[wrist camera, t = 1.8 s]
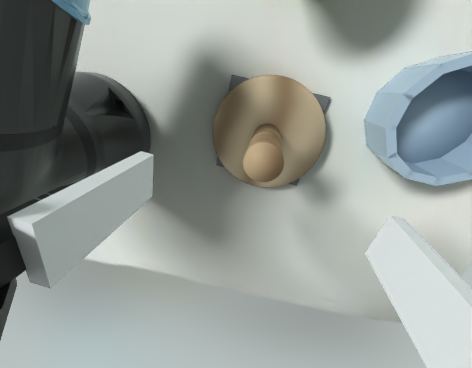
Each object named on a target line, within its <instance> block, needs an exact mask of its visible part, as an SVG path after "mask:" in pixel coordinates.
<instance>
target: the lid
mask: <svg viewBox="0 0 472 368" xmlns="http://www.w3.org/2000/svg"><path fill="white" fill-rule="evenodd" d="M325 133H326V126H325V118H324V114H323V111H322V109H321V106H320V104H319V102H318V101H317V99H316V98H315V96H314V95H313V94H312V93H311V92H310V91H309V90H308V89H307V88H306V87H305V86H303V85H302V84H301V83H299V82H297V81H295V80H293V79H291V78H287V77H284V76H278V75H263V76H258V77H254V78H251V79H249V80H246V81H244V82H242V83H241V84H239V85H238V86H236V87H235V88H234V89H233V90H232V91H230V92H229V94H228V95H227V96H226V97H225V98H224V100H223V101H222V103H221V104H220V106H219V108H218V110H217V113H216V116H215V119H214V124H213V141H214V146H215V150H216V153H217V155H218V157H219V159H220V161H221V162H222V164H223V165H224V166H225V168H226V169H227V170H228V171H229V172H230V173H231V174H232V175H234V176H235V177H236V178H238V179H239V180H241V181H243V182H245V183H247V184H251V185H254V186H259V187H276V186H281V185H285V184H288V183H290V182H293V181H294V180H296V179H298V178H300V177H301V176H302V175H304V174H305V173H306V172H307V171H308V170H309V169H310V168H311V167H312V166H313V164H314V163H315V162H316V160H317V159H318V157H319V155H320V153H321V151H322V148H323V145H324V140H325Z"/></svg>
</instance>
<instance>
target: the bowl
mask: <svg viewBox="0 0 472 368" xmlns="http://www.w3.org/2000/svg"><path fill="white" fill-rule="evenodd" d="M364 123H365V134H366V145H367V146H368V147H369V148H370V149H371V150H372V151H373V153H374V154H375V155H376V156H377V157H378V158H379V159H380V160H381V161H382V162H383V163H384V164H386V165H387V166H388V167H390V168H391V169H393V170H394V171H395V172H397V173H398V174H400V175H401V176H402V177H404V178H405V179H409V180H414V181H418V182H422V183H426V184H430V185H434V186H439V185H445V184H450V183H455V182H461V181H466V180H472V52H466V53H460V54H454V55H448V56H442V57H438V58H435V59H432V60H429V61H426V62H423V63H420V64H417V65H413V66H410V67H407V68H404V69H403V70H402V71H401V72H400V73H399V74H398V75H396V76H395V77H394V78H393V79H392V80H391V81H390V82H388V83H387V84H386V85H385V86H384V87H383V88H381V89H380V90H379V91H378V92H377V94H376V96H375V98H374V100H373V102H372V105H371V107H370V109H369V111H368V113H367V115H366V117H365V120H364Z"/></svg>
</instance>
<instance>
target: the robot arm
mask: <svg viewBox="0 0 472 368" xmlns="http://www.w3.org/2000/svg"><path fill="white" fill-rule="evenodd" d="M89 3H90V0H0V340H1V336H2V332H3V329H4V326H5V323H6V320H7V316H8V313H9V310H10V306H11V303H12V300H13V297H14V293H15V290H16V286H17V280H16V277H17V276H18V275H20V274H21V273H22V272H24V271H25V270H26V272H27V275H28V278H29V281H30V282H31V283H34V284H38V285H41V286H44V287H48V288H52V287H53V286H54V285H55V284H56V283H57V282H58V281H59V280H60V279H62V278H63V277H64V276H65V275H66V274H67V273H68V272H69V271H70V270H72V269H73V268H74V267H75V266H76V265H77V264H78V263H79V262H80V261H81V260H83V259H84V258H85V257H86V256H87V255H88V254H89V253H90V252H91V251H93V250H94V249H95V248H96V247H97V246H98V245H99V244H100V243H101V242H102V241H104V240H105V239H106V238H107V237H108V236H109V235H110V234H111V233H112V232H114V231H115V230H116V229H117V228H118V227H119V226H120V225H121V224H122V223H123V222H125V221H126V220H127V219H128V218H129V217H130V216H131V215H132V214H133V213H135V212H136V211H137V210H138V209H139V208H140V207H141V206H142V205H143V204H144V203H146V202H147V201H148V200H149V199H150V198H151V197H152V196H153V160H154V155H153V154H150V153H149V149H150V131H149V126H148V123H147V120H146V117H145V115H144V113H143V111H142V109H141V107H140V105H139V104H138V102H137V101H136V100H135V98H134V97H133V96H132V95H131V94H130V93H129V91H128V90H126V89H125V88H124V87H123V86H122V85H121V84H119V83H118V82H116V81H115V80H113V79H111V78H109V77H107V76H104V75H101V74H97V73H90V72H75V70H76V65H77V60H78V55H79V50H80V45H81V40H82V36H83V31H84V26H85V24H86V25H89V24H90V20H91V17H90V15H89V12H88V10H89ZM365 255H366V256H367V258H368V260H369V262H370V264H371V266H372V268H373V269H374V271H375V273H376V275H377V277H378V279H379V281H380V282H381V284H382V286H383V288H384V290H385V292H386V294H387V295H388V297H389V299H390V301H391V303H392V305H393V307H394V308H395V310H396V312H397V314H398V316H399V318H400V320H401V321H402V323H403V325H404V327H405V329H406V330H407V332H408V334H409V336H410V338H411V340H412V342H413V344H414V345H415V347H416V349H417V351H418V353H419V355H420V357H421V358H422V360H423V362H424V364H425V366H426V368H472V288H471V287H470V286H469V285H468V284H467V283H466V282H465V281H464V280H463V279H462V278H461V276H460V275H459V274H458V273H457V272H456V271H455V270H454V269H453V268H452V267H451V266H450V265H449V264H448V263H447V262H446V261H445V260H444V259H443V258H442V257H441V256H440V255H439V254H438V253H437V252H436V251H435V250H434V249H433V248H432V247H431V246H430V245H429V244H428V243H427V242H426V241H425V240H424V239H423V238H422V236H421V235H420V234H419V233H418V232H417V231H416V230H415V229H414V228H413V227H412V226H411V225H410V224H409V223H408V222H407V221H406V220H405V219H402V218H398V217H394V216H389V217H388V219H387V220H386V222H385V223H384V225H383V227H382V228H381V230H380V231H379V233H378V234H377V236H376V237H375V239H374V240H373V242H372V243H371V245H370V247H369V248H368V250H367V251H366V253H365Z"/></svg>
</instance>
